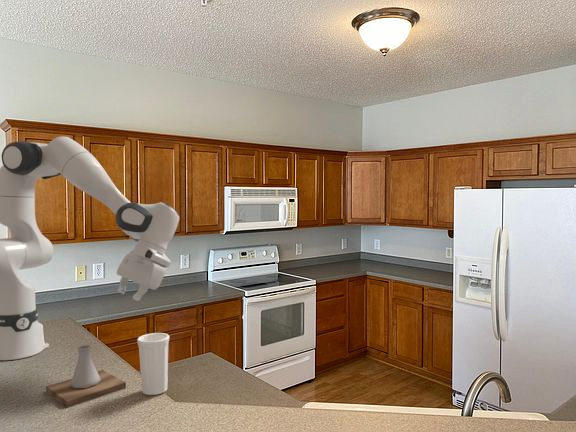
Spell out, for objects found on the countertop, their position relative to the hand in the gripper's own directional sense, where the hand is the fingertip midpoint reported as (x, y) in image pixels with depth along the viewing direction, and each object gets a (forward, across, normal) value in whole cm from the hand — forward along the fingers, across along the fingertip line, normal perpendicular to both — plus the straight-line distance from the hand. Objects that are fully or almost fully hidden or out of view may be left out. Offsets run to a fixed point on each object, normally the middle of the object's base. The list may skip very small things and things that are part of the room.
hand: (127, 296), depth 132 cm
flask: (+24, +7, -4) cm, 26 cm away
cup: (+19, +22, +6) cm, 30 cm away
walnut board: (+26, +8, -4) cm, 27 cm away
